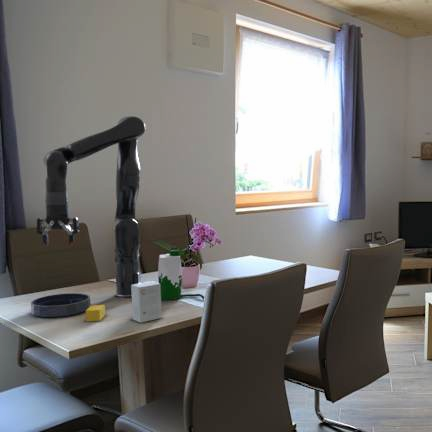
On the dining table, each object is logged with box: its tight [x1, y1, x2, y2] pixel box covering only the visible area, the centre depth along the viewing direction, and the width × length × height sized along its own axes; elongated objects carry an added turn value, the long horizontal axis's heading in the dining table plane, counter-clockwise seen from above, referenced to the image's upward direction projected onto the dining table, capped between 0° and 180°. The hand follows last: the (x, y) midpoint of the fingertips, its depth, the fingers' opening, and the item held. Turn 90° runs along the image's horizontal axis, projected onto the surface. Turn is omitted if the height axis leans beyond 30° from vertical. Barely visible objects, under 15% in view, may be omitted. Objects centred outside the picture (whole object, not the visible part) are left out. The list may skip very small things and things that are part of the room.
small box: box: [131, 280, 163, 324], centre depth 199 cm, size 8×6×13 cm
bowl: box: [30, 292, 91, 318], centre depth 208 cm, size 19×19×4 cm
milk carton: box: [157, 249, 183, 301], centre depth 229 cm, size 9×9×20 cm
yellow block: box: [85, 304, 106, 322], centre depth 199 cm, size 7×5×4 cm, turn 13°
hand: (58, 244), depth 214 cm, fingers open, 8 cm apart
